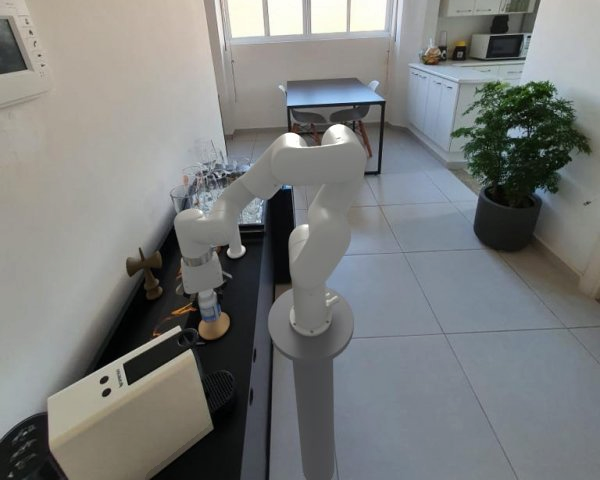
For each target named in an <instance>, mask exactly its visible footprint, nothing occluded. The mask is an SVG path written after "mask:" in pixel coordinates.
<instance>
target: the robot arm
mask: <svg viewBox="0 0 600 480" xmlns="http://www.w3.org/2000/svg"><path fill="white" fill-rule="evenodd" d="M320 143H321V145H316V146H308V144H307V142H306V140H305V139H304V138H303V137H301V136H300V135H299V134H297V133H294V132H286V133H284V134H281V135H280V136H278V137H277V138H276V139H275V140H274V141H273V142H272V143H271V145H269V147H267V149H266V150H265V151H264V152H263V153H262V154H261V155H260V156H259V158H257V160H256V161H255V162H254V163H253V164H252V165H251V166H250V167H249V168H248V170H247V171H246V172H245V173H243V174H242V175H241V176H239V177H238V178H236V179H235V180H234V181H232V182H231V183H230V184H229V185H228V186H227V187H226V189H224V191H223V192H222V193H221V194H219V196H218V197H217V199H216V200H215V201H214V203H213V204H212V207H211V209H210V211H209V213H208V215H207V216H206V214H205V212H204V211H202V210H201V209H199V208H188V209H183V210H182V211H180V212H179V213H178V214H176V215H175V217H174V219H173V226H174V230H175V234H176V238H177V242H178V247H179V251H180V254H181V259H180V271H181V279H182V280H181V282H180V283H179V284H178V286H177V287H176V288H175V295H178V296H180V297H181V296H182V297H183V298H186V299H188V300H189V301H190V302H191V304H192V308H195V310H196V312H199V311H200V308H199V304H198V299H199V294H198V293H199V292H201V291H205V290H209V289H213V290H214V289H215V291H216V294H217V299H218V303H219V305H220V306H221V305H222V300H224V295H223V292H224V290H225V289H226V288H227V286H228V284H230V283H231V282H232V281H233V276H232V275H231V274H230V273H228V272H226V271H224V270H223V269H222V266H221V265H222V264H221V261H220V258H219V256H218V253H216V251H218V247H217V246H221V247H224V246H227V245H229V243H231V242H232V240H233V239H234V237H235V233H236V228H237V224H238V225H239V219H240V215H241V214H242V213H243V211H244V210H245V209H246V208H247V207H248V206H249V204H251V203H252V202H253V201H255V199H260V200H262V201H268V200H270V199H272V198H273V197H274V195H275V194H277V192H278V191H279V190H280V189H282V187H283V186H288V187H308V186H309V187H310V186H317V185H321V187H320V188H319V190H318V192H317V194H316V195H315V197H314V199H313V200H312V202H311V203H310V205H309V207H308V210H307V216H306V217H307V223H304V224H300V225H297V226H296V227H295V228H294V229H293V230H292V232H291V233H290V234H289V238H288V259H289V260H288V263H289V265H288V267H289V274H290V278H291V288H292V291H293V303H294V306H293V307H292V308H291V311H290V315H289V318H290V324H291V326H292V328H293V329H294V330H295V331H296V332H297V333H299V334H301V335H303V336H310V337H312V336H317V335H320V334H322V333H324V332H325V331H326V330H327V329H328V328H329V326H330V324H331V321H332V313H331V310H330V308H332V306H333V305H335V304H337V303H338V302H339V298H338V297H337V296H335V297H333V298H332V299H331V300H327V299H329V298H331V296H330V294H329V293H328V294H326V287H327V281H328V280H329V279H330V277H331V275H332V274H333V273H334V272H335V270H336V268H337V267H338V265H339V264H340V262H341V261H342V259H343V257H344V256H345V254H346V253H347V251H348V249H349V248H350V244H351V240H352V229H351V226H350V223H349V221H348V213H349V211H350V208H351V207H352V205H353V204H354V201H355V199H356V197H357V196H358V194H359V192H360V190H361V188H362V185H363V182H364V178H365V170H366V167H367V163H368V157H367V153H366V150H365V149H364V147H363V145H362V144H361V142H360V140H359V138H358V136H357V135H356V133H355V132H354V131H353V130H352V129H351V128H350V127H349V126H348V125H347V126H346V125H344V124H334V125H331V126H330V127H328V129H326V131H325V132H324V133H323V135H322V138H321V142H320ZM213 245H215V246H213Z"/></svg>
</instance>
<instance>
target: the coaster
mask: <svg viewBox="0 0 600 480" xmlns="http://www.w3.org/2000/svg"><path fill="white" fill-rule="evenodd" d="M230 325H231V321H230V317H229V315H228V314H227V313H226V312H224V311H221V316H220V318H219V319H218V320H217V321H216V322H214V323H210V324H209V323H205V322H204V321H203V319H202V318H201V321H200V322H199V324H198V334H199V336H200V337H201V338H202V339H204V340H207V341H213V340H217V339H219V338H221V337H222V336H224V335H225V334H226V333H227V331H228V330H229V329H230Z"/></svg>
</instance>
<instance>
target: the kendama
mask: <svg viewBox="0 0 600 480" xmlns="http://www.w3.org/2000/svg"><path fill="white" fill-rule="evenodd" d="M138 253H139V257H140V258H135V257H132V256H128V257H127V258H126V260H125V269H126V274H127V276H128V277H129V278H132V277H134V276H135V275H136V274H137V273H138V272H139V271H141V270H143V271H144V279H145V283H144V285H143V289H144V290H146V294H145V298H146V300H150V301H152V300H156V299H158V298H159V297H161V296H162V294H163V288H162V287H161V286H159V284H160V280H159V279H158V278H155V277H154V275H153V273H152V271H151V269H152V268H153V269H157V270H161V268H162V266H163V260H162V255H161V252H160V251H159V250H156V251H155V252H154V253H152V254H150V256H148V257H145V255H144V252H143V250H142V247H140V246H139V247H138ZM150 268H151V269H150Z"/></svg>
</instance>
